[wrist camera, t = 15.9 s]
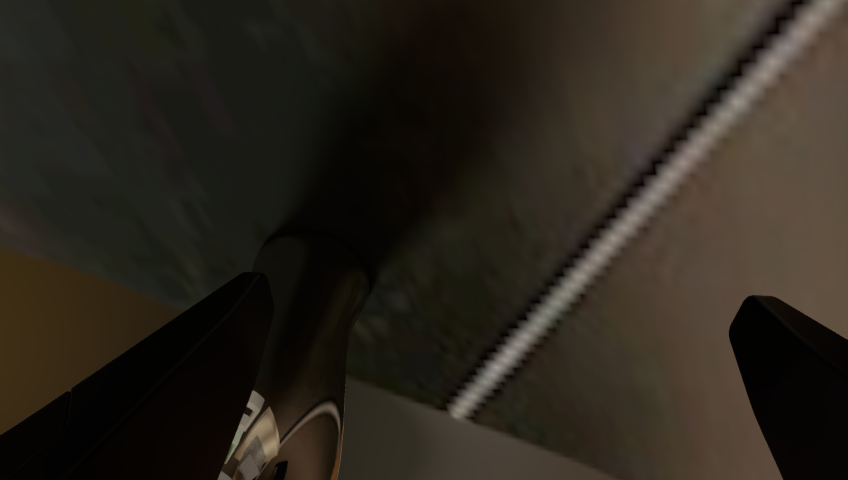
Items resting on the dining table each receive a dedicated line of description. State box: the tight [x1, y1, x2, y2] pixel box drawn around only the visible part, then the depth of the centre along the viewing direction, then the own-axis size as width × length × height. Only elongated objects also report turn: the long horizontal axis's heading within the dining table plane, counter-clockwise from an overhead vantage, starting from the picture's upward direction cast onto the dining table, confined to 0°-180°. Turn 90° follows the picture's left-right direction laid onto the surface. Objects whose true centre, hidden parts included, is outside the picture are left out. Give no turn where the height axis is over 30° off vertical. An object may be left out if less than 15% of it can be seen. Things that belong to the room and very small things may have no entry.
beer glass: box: [218, 232, 370, 480], centre depth 19 cm, size 7×7×15 cm
